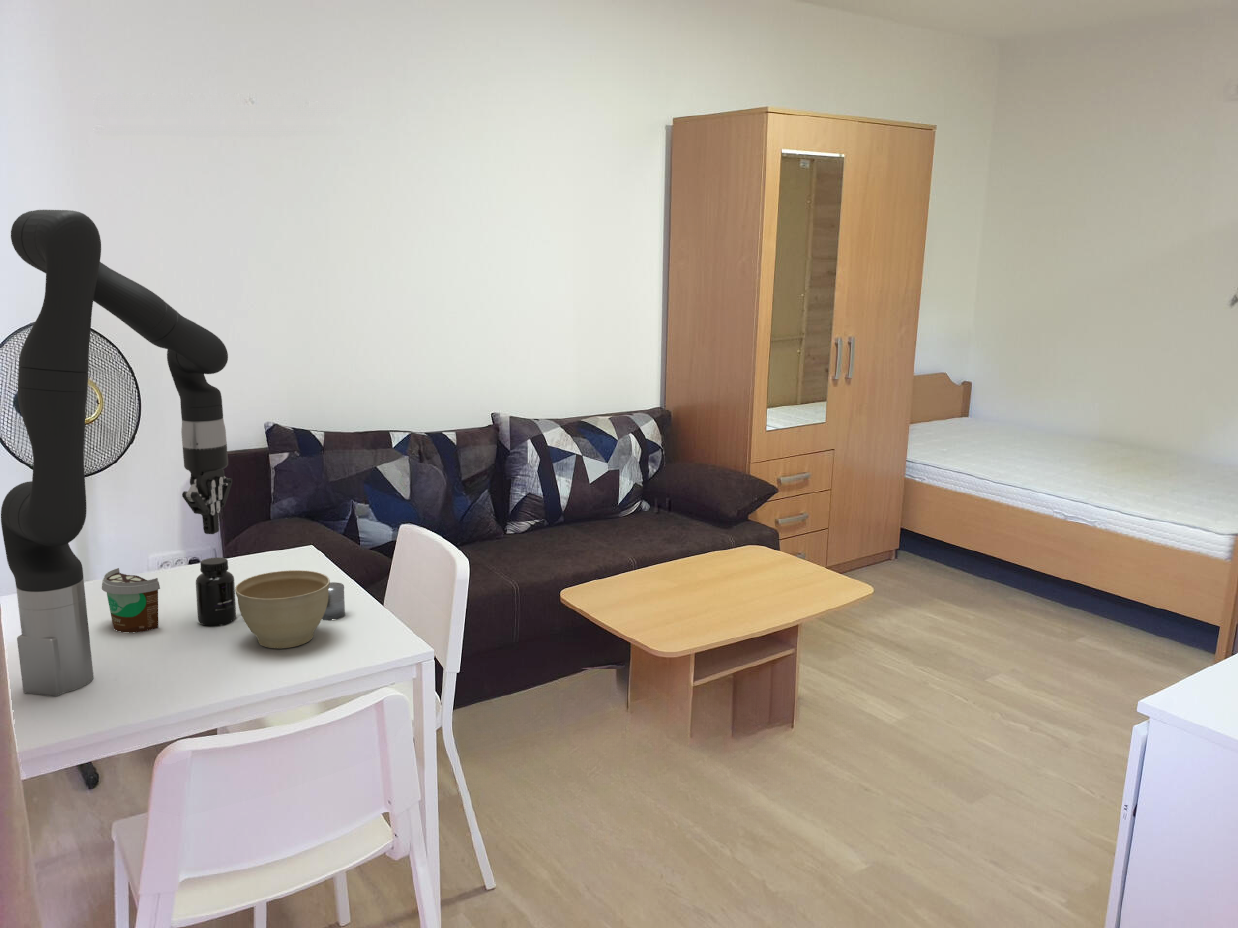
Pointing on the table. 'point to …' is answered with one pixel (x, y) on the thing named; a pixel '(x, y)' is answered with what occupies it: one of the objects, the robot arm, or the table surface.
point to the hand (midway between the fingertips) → (211, 532)
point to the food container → (131, 601)
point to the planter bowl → (283, 606)
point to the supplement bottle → (215, 593)
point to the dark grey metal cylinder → (335, 602)
